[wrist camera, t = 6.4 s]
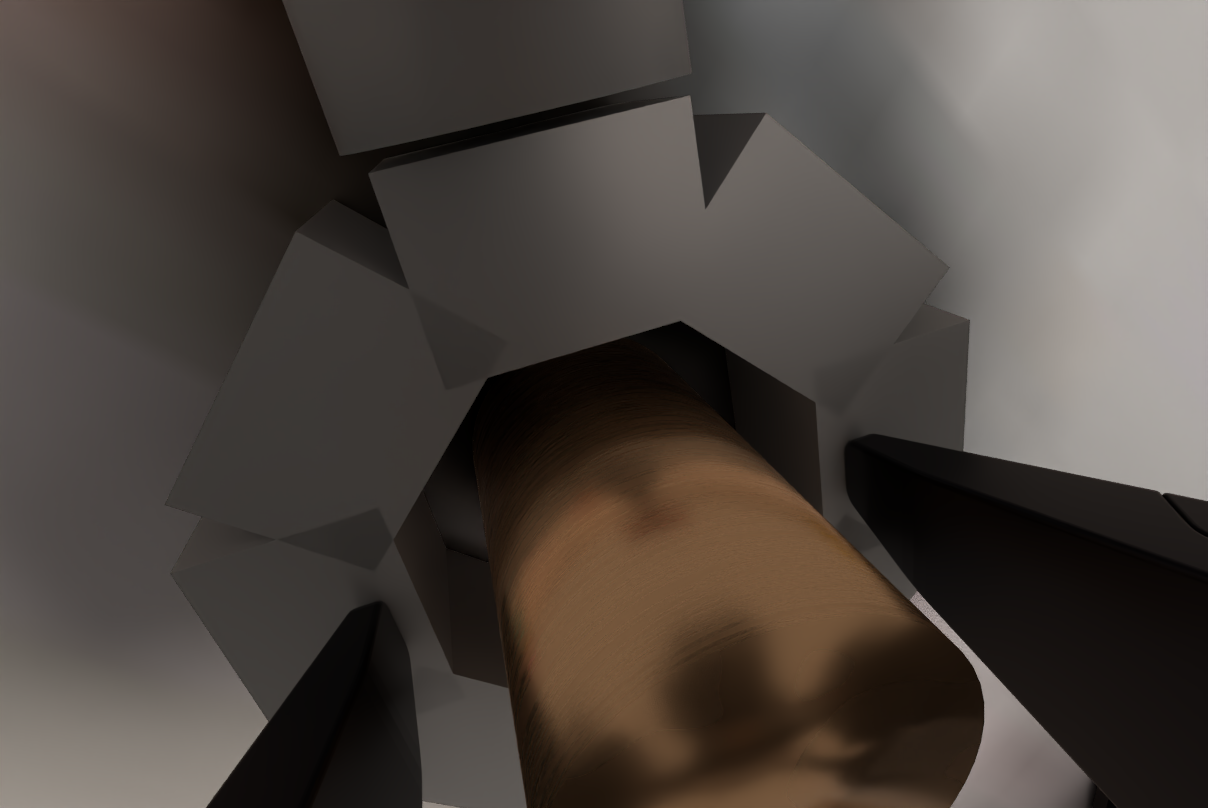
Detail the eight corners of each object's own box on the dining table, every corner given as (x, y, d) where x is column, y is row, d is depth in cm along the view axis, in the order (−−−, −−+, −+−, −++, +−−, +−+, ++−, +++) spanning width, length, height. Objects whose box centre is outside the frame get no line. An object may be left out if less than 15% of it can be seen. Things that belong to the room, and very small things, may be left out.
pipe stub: (702, 495, 13) (972, 851, 6) (507, 562, 12) (598, 1022, 6) (671, 305, 11) (999, 543, 5) (440, 372, 10) (469, 741, 4)
